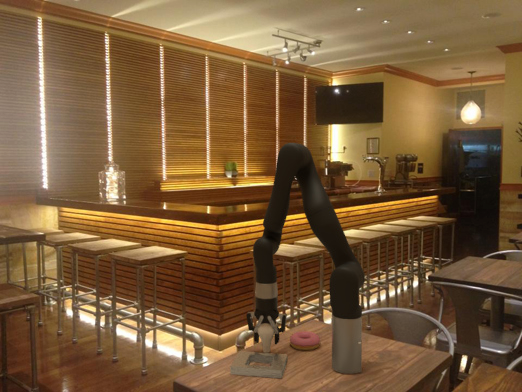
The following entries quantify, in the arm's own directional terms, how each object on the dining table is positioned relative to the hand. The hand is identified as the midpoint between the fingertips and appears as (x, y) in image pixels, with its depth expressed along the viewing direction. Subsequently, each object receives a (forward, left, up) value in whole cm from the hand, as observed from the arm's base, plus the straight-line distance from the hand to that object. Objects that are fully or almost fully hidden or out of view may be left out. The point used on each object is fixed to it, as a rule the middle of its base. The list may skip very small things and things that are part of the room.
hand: (266, 342), depth 163 cm
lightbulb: (0, 0, -4) cm, 4 cm away
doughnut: (-12, -9, -4) cm, 16 cm away
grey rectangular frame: (0, +12, -4) cm, 13 cm away
